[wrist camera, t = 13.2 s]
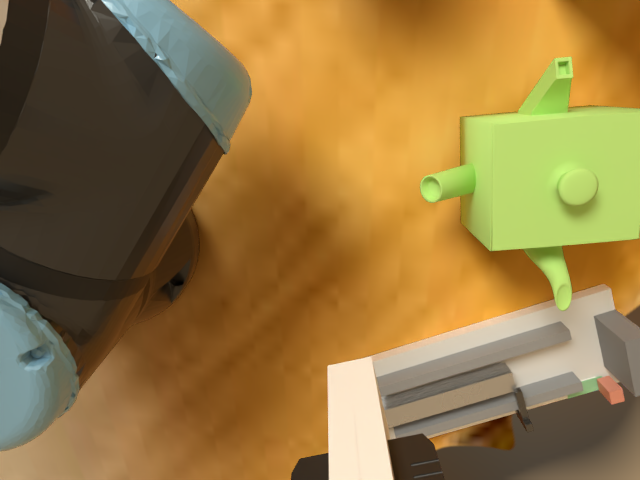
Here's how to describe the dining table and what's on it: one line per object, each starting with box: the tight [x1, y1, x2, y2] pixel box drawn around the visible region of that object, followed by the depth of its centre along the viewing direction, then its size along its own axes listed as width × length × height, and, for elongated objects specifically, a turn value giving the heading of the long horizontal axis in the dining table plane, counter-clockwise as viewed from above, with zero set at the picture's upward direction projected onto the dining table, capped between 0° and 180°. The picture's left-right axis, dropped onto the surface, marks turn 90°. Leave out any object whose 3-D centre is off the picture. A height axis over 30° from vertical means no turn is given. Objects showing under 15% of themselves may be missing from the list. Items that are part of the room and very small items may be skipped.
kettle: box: [420, 57, 640, 311], centre depth 39 cm, size 15×14×11 cm
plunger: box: [382, 362, 533, 432], centre depth 46 cm, size 16×8×7 cm, turn 109°
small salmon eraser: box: [597, 376, 624, 405], centre depth 48 cm, size 1×1×2 cm
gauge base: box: [365, 284, 640, 440], centre depth 47 cm, size 26×10×6 cm, turn 109°
